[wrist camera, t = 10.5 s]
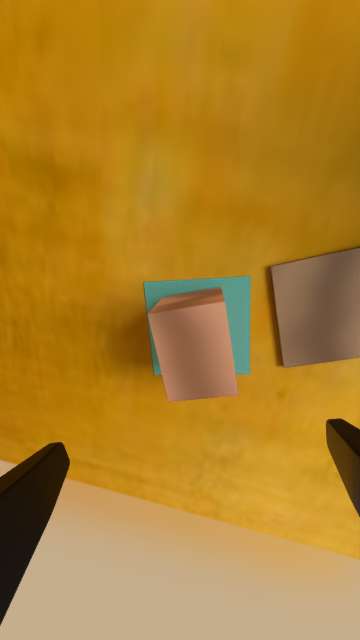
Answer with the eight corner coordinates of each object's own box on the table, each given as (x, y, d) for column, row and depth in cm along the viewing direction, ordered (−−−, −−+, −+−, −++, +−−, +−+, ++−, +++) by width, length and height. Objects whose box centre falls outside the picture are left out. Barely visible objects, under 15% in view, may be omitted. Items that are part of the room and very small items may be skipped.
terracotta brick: (221, 286, 18) (224, 301, 14) (232, 359, 20) (238, 395, 15) (163, 296, 19) (147, 314, 14) (178, 365, 21) (168, 401, 16)
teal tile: (248, 274, 19) (250, 276, 18) (247, 368, 21) (249, 374, 20) (146, 280, 20) (143, 282, 19) (156, 369, 22) (154, 374, 21)
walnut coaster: (388, 239, 17) (399, 239, 16) (389, 346, 19) (398, 351, 18) (268, 265, 18) (271, 266, 17) (280, 362, 20) (284, 368, 19)
